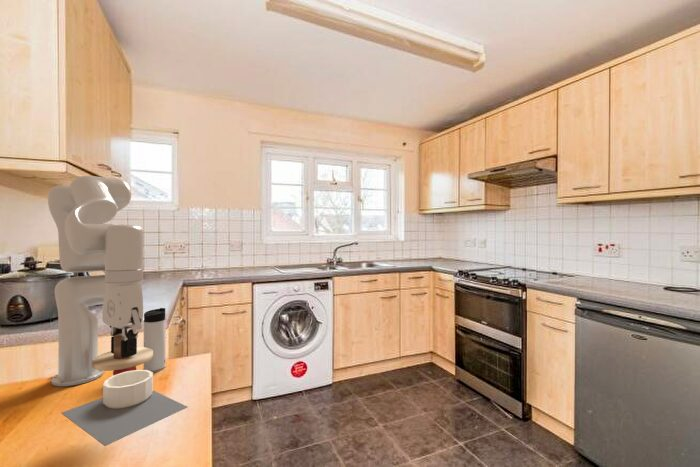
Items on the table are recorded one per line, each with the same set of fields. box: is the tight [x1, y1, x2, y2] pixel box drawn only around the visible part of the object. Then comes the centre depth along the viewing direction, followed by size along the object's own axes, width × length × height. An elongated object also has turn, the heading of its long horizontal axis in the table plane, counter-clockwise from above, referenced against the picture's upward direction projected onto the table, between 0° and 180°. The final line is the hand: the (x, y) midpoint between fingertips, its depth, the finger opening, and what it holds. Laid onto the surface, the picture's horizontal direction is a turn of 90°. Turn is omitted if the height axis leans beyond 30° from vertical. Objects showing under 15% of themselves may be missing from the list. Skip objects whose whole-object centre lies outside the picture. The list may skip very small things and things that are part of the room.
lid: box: [92, 331, 153, 372], centre depth 79 cm, size 12×12×6 cm
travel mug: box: [143, 307, 167, 373], centre depth 110 cm, size 6×7×20 cm
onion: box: [112, 366, 137, 376], centre depth 101 cm, size 6×6×8 cm
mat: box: [61, 389, 188, 447], centre depth 85 cm, size 24×19×1 cm
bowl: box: [102, 369, 154, 409], centre depth 90 cm, size 11×11×6 cm
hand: (123, 353), depth 79 cm, fingers closed on lid, 4 cm apart
